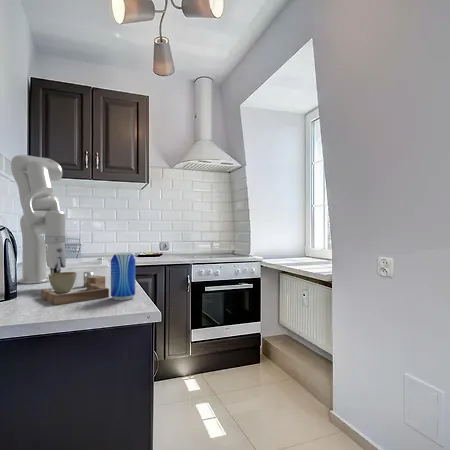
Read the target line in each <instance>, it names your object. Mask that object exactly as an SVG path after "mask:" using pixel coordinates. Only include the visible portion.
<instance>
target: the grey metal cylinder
mask: <svg viewBox="0 0 450 450" xmlns="http://www.w3.org/2000/svg"><path fill="white" fill-rule="evenodd" d="M94 274H95V272H94V271H84V272H83V288H87V277H92V276H95V275H94Z"/></svg>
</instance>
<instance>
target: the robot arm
mask: <svg viewBox="0 0 450 450" xmlns="http://www.w3.org/2000/svg"><path fill="white" fill-rule="evenodd" d="M10 170H11V174H12V177H13V179H14V180H15V181H14V182H15V183H16V185H17V189H18V196H19V200H20V205H21V208H22V214H23V215H22V216H21V217H20V220H19V224H20V232H21V238H22V242H21V243H22V248H21V249H22V255H21V256H22V260H21V261H22V263H21V264H22V269H21V270H22V277H21V278H20V279H18V284H24V285H25V284H27V285H28V284H31V285H32V284H40V283H41V284H42V283H47V282H50V281H49V276H47V267H48V268H49V269H50V270H49V271H50V272H49V274H52V273H59V272H62V268H63V269H64V268H66V267H67V261H66V260H67V259H66V248H65V244H66V213H65V212H64V211H62V210H61V206H60V202H59V198H58V197H57V196H56V195H55V194H52V193H53V191H54V189H53V185H52V181H54V182H59V181H60V180H61V179H62V178H63V168H62V166H61V165H60V164H59V162H56V161H55V160H53V159H51V158H49V157H39V156H33V155H27V154H17V155H15V156H13V157H12V159H11V161H10ZM42 235H44V237H43V236H42Z"/></svg>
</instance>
